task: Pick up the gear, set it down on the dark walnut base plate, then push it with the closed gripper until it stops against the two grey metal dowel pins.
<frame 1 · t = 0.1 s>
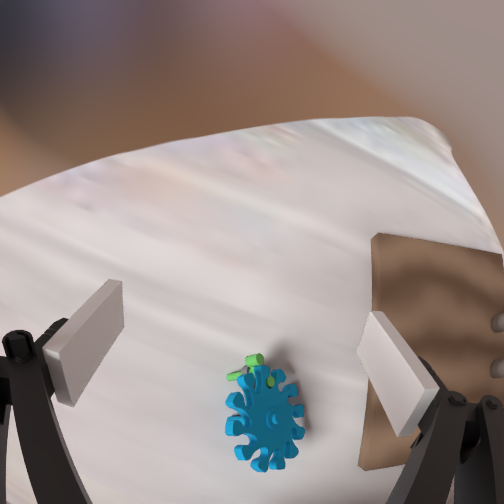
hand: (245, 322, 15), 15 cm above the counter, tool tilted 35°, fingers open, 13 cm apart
gear: (262, 406, 28), on the counter
dowel plate: (446, 351, 31), on the counter
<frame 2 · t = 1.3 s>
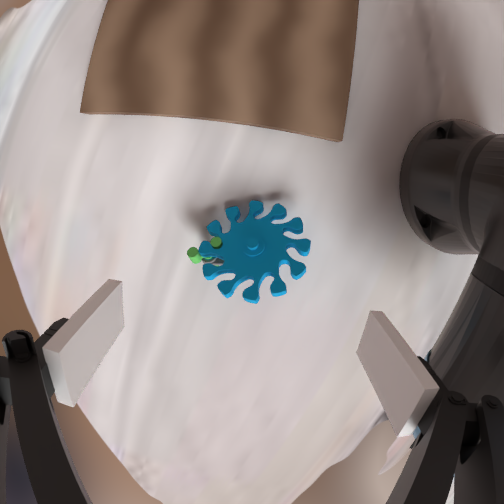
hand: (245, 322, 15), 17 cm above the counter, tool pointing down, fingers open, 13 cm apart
gear: (248, 238, 32), on the counter
dowel plate: (223, 22, 25), on the counter
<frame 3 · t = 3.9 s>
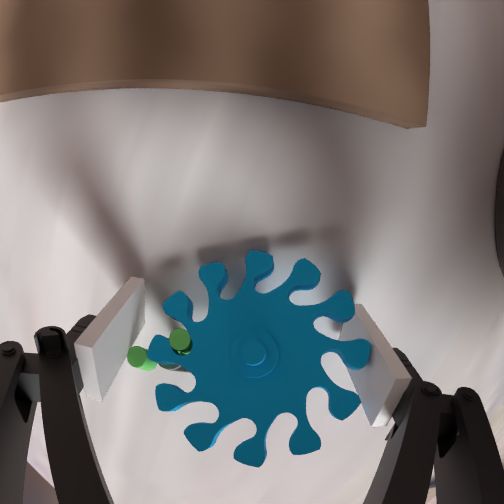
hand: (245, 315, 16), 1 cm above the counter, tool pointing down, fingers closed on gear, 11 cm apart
gear: (244, 315, 17), on the counter, touching gripper
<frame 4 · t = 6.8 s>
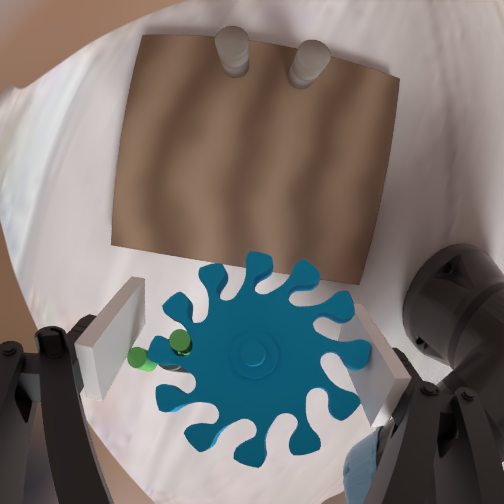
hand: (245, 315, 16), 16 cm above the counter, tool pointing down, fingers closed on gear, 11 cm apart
gear: (244, 315, 17), point 15 cm above the counter, touching gripper
dowel plate: (253, 152, 29), on the counter
when the fingers open (4 cm above the counter, at t = 10.0 s): gear drops 1 cm, resting on dowel plate.
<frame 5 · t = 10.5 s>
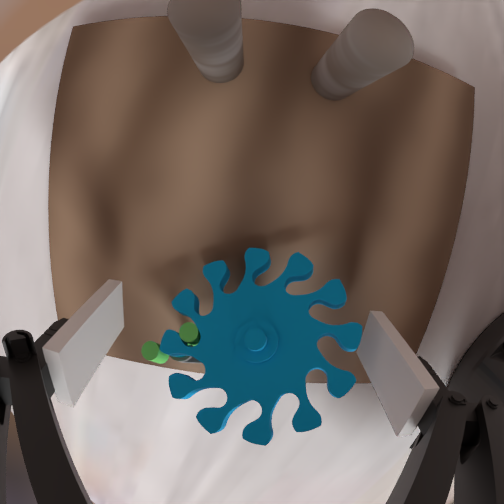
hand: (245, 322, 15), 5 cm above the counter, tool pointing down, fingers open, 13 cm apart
gear: (247, 308, 18), point 2 cm above the counter, touching dowel plate
dowel plate: (256, 208, 19), on the counter
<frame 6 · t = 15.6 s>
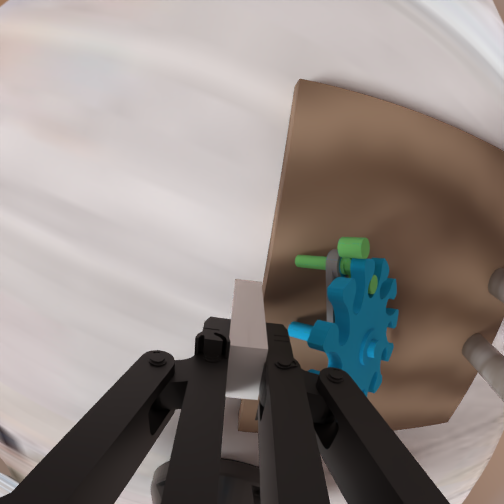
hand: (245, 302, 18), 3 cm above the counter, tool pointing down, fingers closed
gear: (341, 305, 20), point 2 cm above the counter, touching dowel plate, gripper
dowel plate: (404, 298, 22), on the counter
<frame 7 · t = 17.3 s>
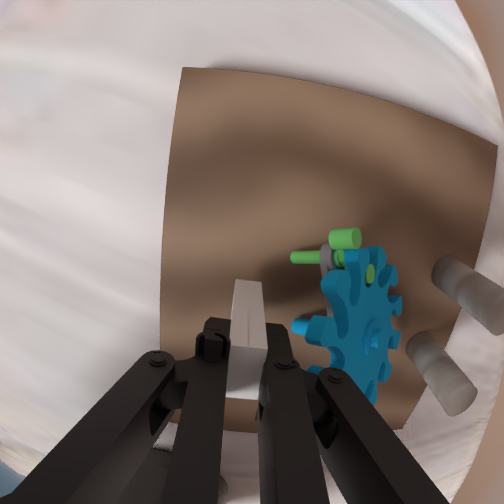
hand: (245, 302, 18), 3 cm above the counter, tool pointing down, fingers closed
gear: (343, 297, 19), point 2 cm above the counter, touching dowel plate, gripper
dowel plate: (326, 290, 21), on the counter
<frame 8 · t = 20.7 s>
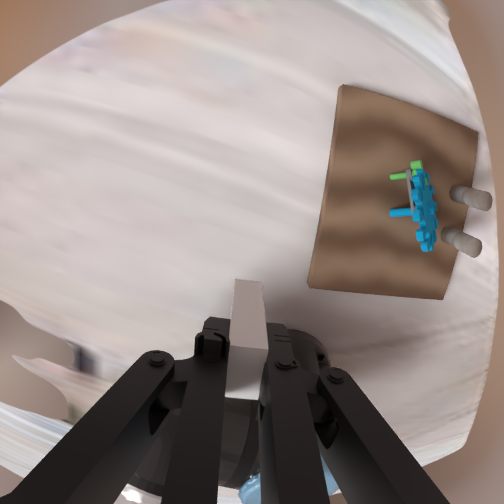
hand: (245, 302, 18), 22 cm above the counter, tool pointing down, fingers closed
gear: (410, 201, 37), point 2 cm above the counter, touching dowel plate
dowel plate: (400, 200, 38), on the counter
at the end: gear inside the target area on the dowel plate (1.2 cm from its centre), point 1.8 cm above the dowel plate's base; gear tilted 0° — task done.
